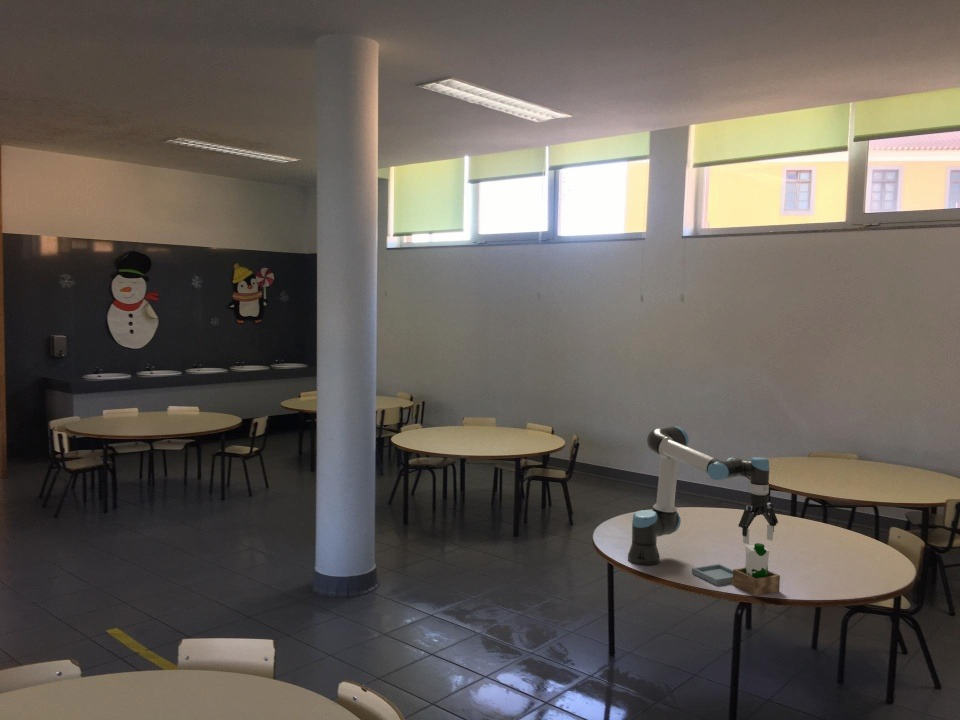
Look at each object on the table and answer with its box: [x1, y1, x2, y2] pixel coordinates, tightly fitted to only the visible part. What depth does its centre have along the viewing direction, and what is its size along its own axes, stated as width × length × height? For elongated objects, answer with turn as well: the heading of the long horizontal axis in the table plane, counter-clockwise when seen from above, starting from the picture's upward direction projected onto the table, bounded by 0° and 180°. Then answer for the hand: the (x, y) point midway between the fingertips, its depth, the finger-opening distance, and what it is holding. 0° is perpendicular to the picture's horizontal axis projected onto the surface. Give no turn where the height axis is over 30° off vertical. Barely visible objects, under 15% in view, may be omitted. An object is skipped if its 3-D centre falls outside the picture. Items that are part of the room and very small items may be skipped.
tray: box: [691, 563, 733, 586], centre depth 327 cm, size 16×16×2 cm
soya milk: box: [744, 542, 770, 578], centre depth 313 cm, size 9×9×20 cm
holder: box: [732, 567, 781, 597], centre depth 314 cm, size 14×14×7 cm
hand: (757, 541), depth 312 cm, fingers open, 13 cm apart
